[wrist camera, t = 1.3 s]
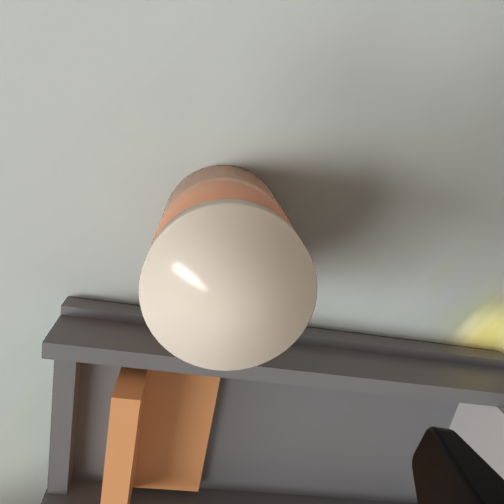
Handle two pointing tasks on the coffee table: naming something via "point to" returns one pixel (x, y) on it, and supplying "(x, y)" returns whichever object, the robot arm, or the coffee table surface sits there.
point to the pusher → (157, 432)
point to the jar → (226, 273)
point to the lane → (276, 412)
